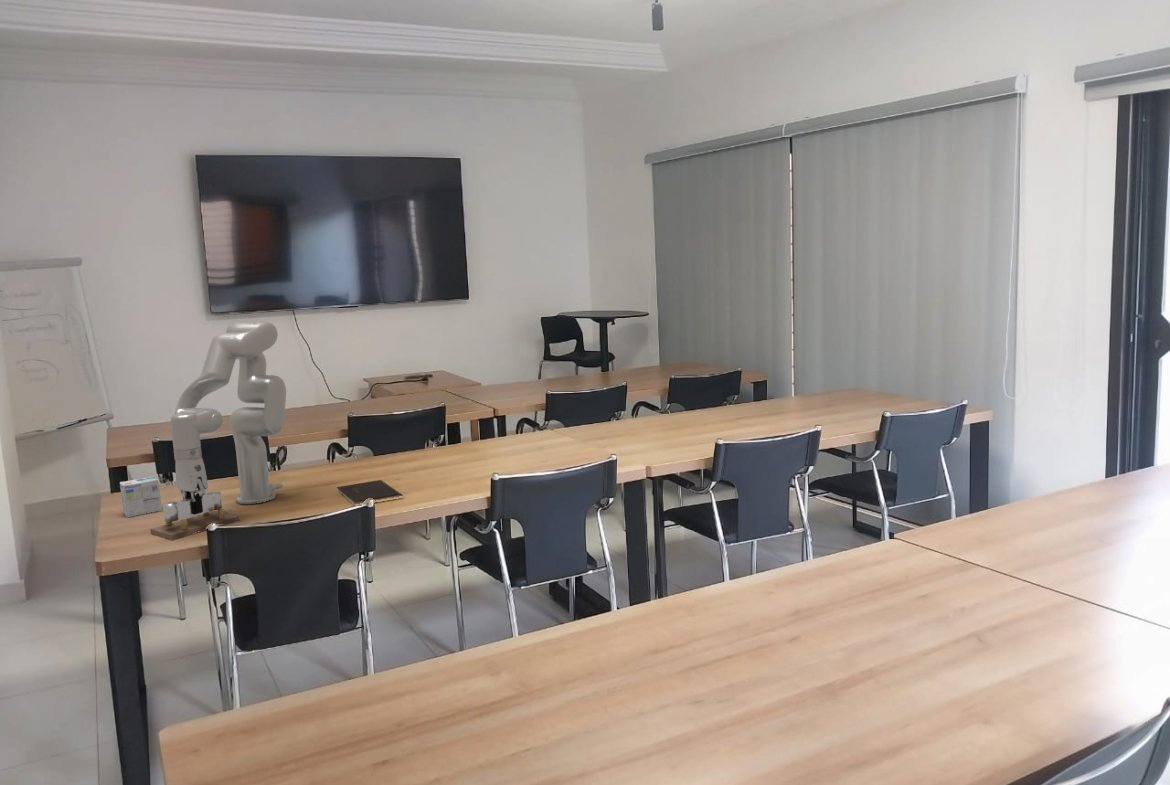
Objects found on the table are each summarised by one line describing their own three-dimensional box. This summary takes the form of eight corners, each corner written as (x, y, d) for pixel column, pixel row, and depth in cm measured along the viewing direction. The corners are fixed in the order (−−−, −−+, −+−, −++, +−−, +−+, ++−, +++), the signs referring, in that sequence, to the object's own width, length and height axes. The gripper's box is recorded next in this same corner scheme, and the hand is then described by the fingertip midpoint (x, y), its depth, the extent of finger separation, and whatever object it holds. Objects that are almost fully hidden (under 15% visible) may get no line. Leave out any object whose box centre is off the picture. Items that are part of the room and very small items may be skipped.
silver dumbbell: (217, 506, 278) (215, 490, 277) (224, 508, 275) (223, 492, 275) (161, 520, 263) (160, 504, 263) (168, 522, 261) (167, 506, 260)
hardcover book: (355, 508, 285) (354, 501, 285) (337, 493, 305) (336, 487, 305) (403, 500, 293) (402, 493, 292) (382, 485, 313) (382, 479, 312)
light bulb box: (157, 506, 295) (154, 475, 293) (162, 510, 290) (159, 479, 288) (122, 513, 288) (118, 481, 287) (127, 517, 283) (123, 485, 281)
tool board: (218, 514, 282) (216, 501, 282) (239, 520, 275) (238, 506, 275) (150, 533, 265) (149, 519, 264) (172, 540, 258) (170, 525, 257)
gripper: (214, 454, 265) (220, 513, 267) (185, 448, 274) (191, 506, 277) (190, 459, 259) (197, 519, 261) (161, 453, 268) (168, 511, 271)
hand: (194, 512), depth 269 cm, fingers closed on silver dumbbell, 3 cm apart
